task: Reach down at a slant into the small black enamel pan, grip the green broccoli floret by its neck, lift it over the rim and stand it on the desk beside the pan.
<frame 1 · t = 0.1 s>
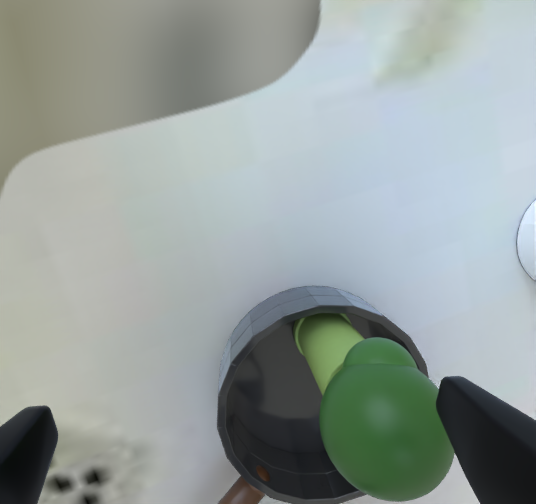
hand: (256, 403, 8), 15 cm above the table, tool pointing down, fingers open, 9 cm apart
pan: (310, 372, 25), on the table
broccoli: (321, 330, 24), resting on pan
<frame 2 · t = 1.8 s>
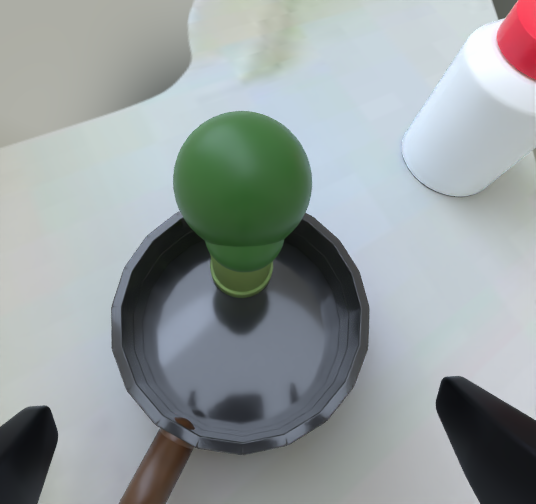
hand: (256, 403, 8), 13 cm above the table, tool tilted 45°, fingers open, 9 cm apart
pan: (243, 322, 22), on the table
broccoli: (241, 268, 22), resting on pan
pill bottle: (446, 157, 28), on the table
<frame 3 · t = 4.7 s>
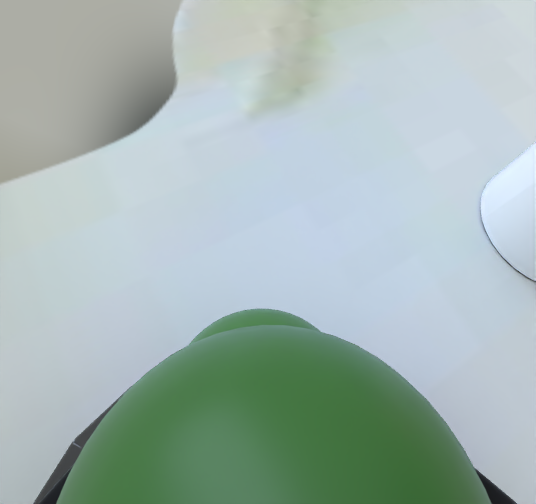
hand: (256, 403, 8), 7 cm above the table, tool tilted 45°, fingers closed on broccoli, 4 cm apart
broccoli: (250, 434, 14), point 1 cm above the table, touching gripper, pan
when the fingers open (7 cm above the table, at t = 11.7 s): broccoli stays where it is, on the table.
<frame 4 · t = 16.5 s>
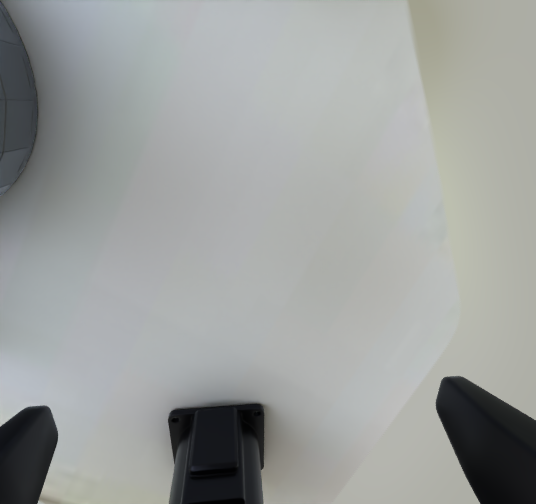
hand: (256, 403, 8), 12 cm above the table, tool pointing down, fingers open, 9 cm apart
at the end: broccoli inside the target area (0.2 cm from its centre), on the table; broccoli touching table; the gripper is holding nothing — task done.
